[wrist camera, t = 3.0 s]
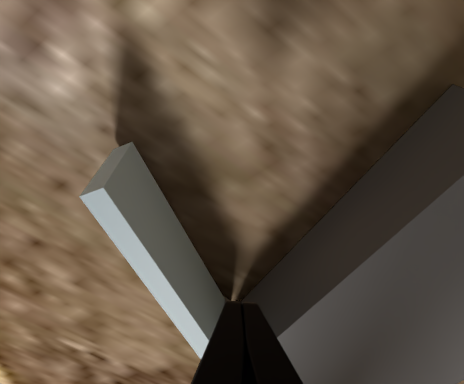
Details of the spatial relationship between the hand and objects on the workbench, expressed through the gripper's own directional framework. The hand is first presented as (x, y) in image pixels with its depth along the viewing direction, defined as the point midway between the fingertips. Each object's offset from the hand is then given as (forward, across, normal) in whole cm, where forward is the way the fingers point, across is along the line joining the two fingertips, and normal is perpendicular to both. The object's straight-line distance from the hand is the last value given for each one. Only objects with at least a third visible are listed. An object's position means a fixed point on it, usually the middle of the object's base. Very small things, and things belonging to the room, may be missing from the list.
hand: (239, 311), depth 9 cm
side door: (+6, +2, +2) cm, 7 cm away
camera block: (+6, -8, +3) cm, 10 cm away
